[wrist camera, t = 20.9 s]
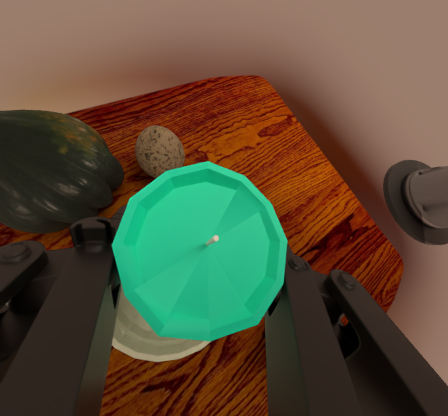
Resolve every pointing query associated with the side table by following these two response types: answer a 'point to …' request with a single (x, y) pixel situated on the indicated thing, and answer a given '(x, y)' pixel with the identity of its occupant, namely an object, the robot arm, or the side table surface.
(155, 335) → the bowl
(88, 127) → the squash
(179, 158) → the decorative egg
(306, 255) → the side table surface
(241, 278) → the candle
